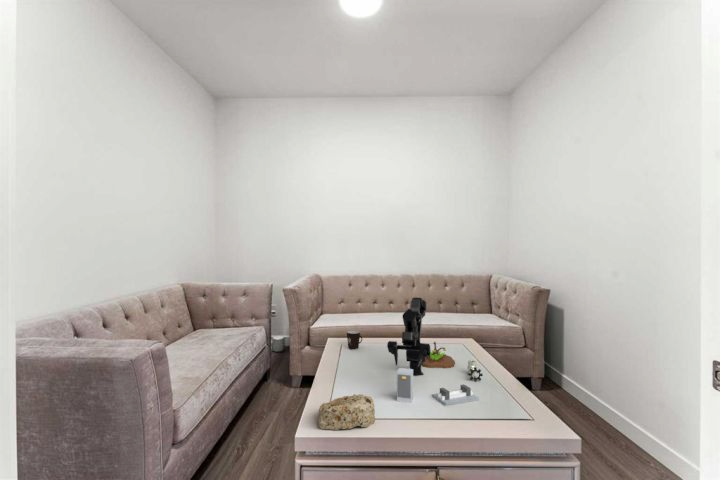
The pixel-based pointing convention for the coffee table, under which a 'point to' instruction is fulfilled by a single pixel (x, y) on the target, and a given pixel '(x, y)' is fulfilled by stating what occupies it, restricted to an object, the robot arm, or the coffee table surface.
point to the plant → (438, 359)
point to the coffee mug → (353, 339)
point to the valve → (473, 370)
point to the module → (405, 385)
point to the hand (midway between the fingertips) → (406, 365)
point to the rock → (347, 412)
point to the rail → (455, 396)
